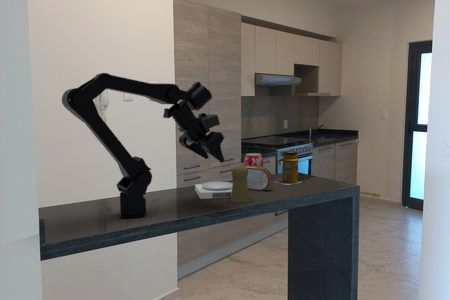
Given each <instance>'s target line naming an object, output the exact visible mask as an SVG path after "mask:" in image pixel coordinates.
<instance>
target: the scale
mask: <svg viewBox="0 0 450 300" xmlns="http://www.w3.org/2000/svg"><path fill="white" fill-rule="evenodd" d="M232 186H233V182H229V181H207V182H204V183H199V184H194V189H195V192H196V194H197V196H198V197H199V199H200V200H206V199H224V198H225V199H226V198H227V199H228V198H231V194H232Z"/></svg>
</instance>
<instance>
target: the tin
mask: <svg viewBox="0 0 450 300" xmlns="http://www.w3.org/2000/svg"><path fill="white" fill-rule="evenodd" d="M241 166H244V167H247V169H248V175H247V185H248V191H250V190H251V191H259V192H261V191H262V192H263V191H265V190H268V189H269V188H271V186H272V184H273V180H274V178H273V175H272V173H271V171H270V170H269V169H268V168H267V167H264V166H263V167H257V166H247V165H244V164H242V165H241ZM231 178H232V180H233V178H234V177H233V175H232V174H231Z"/></svg>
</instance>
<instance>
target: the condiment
mask: <svg viewBox="0 0 450 300" xmlns="http://www.w3.org/2000/svg"><path fill="white" fill-rule="evenodd" d="M282 157H283V158H282V163H281V164H282V167H281V169H282V170H281V171H282V173H281V174H282V175H281V178H282V179H281V180H278V181H275V183H276V184H281V185H287V186H291V185H296V184H301V183H302V181H299V159H298V152H297V151H294V150H293V151H290V150H289V151H284V152H283V156H282Z"/></svg>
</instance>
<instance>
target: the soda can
mask: <svg viewBox="0 0 450 300" xmlns="http://www.w3.org/2000/svg"><path fill="white" fill-rule="evenodd" d="M243 165H247V166H257V167H264V158H263V157H262V153H258V152H257V153H256V152H251V153H245V157H244V159H243Z"/></svg>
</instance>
